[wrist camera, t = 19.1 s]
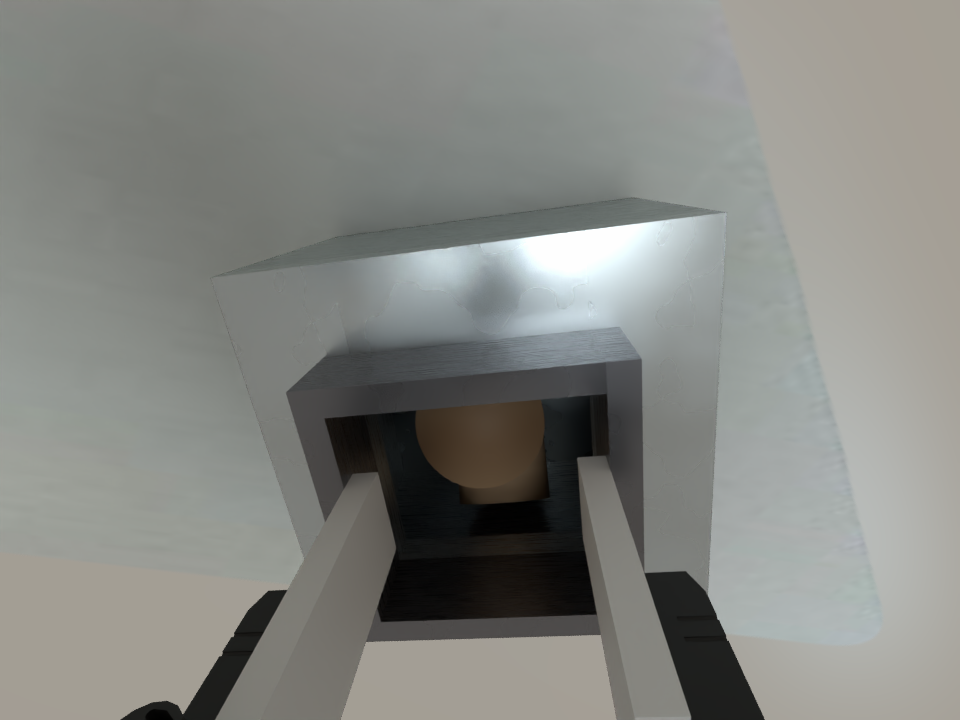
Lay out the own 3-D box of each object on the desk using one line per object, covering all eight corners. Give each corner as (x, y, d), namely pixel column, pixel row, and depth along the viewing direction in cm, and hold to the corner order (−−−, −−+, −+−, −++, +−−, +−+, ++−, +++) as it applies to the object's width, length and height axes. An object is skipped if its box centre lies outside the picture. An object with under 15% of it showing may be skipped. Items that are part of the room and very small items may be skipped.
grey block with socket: (336, 237, 23) (145, 298, 11) (633, 197, 21) (778, 221, 9) (392, 480, 28) (302, 701, 16) (638, 463, 26) (737, 695, 14)
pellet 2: (445, 385, 20) (451, 506, 19) (537, 377, 20) (550, 499, 19) (460, 399, 24) (467, 500, 23) (538, 392, 24) (549, 495, 23)
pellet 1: (440, 361, 20) (409, 364, 15) (536, 352, 19) (538, 352, 14) (449, 456, 20) (421, 492, 15) (545, 449, 19) (550, 484, 14)
